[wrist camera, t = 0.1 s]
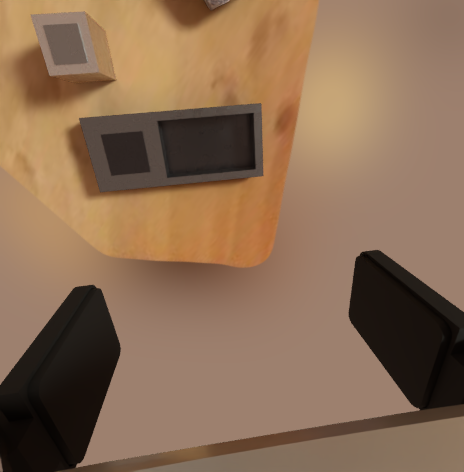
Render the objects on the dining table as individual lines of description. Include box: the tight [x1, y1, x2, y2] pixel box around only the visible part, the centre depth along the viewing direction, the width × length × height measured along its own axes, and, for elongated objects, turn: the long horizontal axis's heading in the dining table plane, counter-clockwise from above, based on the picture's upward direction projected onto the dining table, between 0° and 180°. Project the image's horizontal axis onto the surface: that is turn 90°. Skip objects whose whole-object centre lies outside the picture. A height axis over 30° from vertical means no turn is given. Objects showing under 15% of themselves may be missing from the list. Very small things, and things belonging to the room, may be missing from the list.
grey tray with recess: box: [79, 103, 263, 192], centre depth 35 cm, size 9×22×3 cm, turn 95°
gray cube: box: [31, 12, 116, 83], centre depth 29 cm, size 5×5×6 cm
